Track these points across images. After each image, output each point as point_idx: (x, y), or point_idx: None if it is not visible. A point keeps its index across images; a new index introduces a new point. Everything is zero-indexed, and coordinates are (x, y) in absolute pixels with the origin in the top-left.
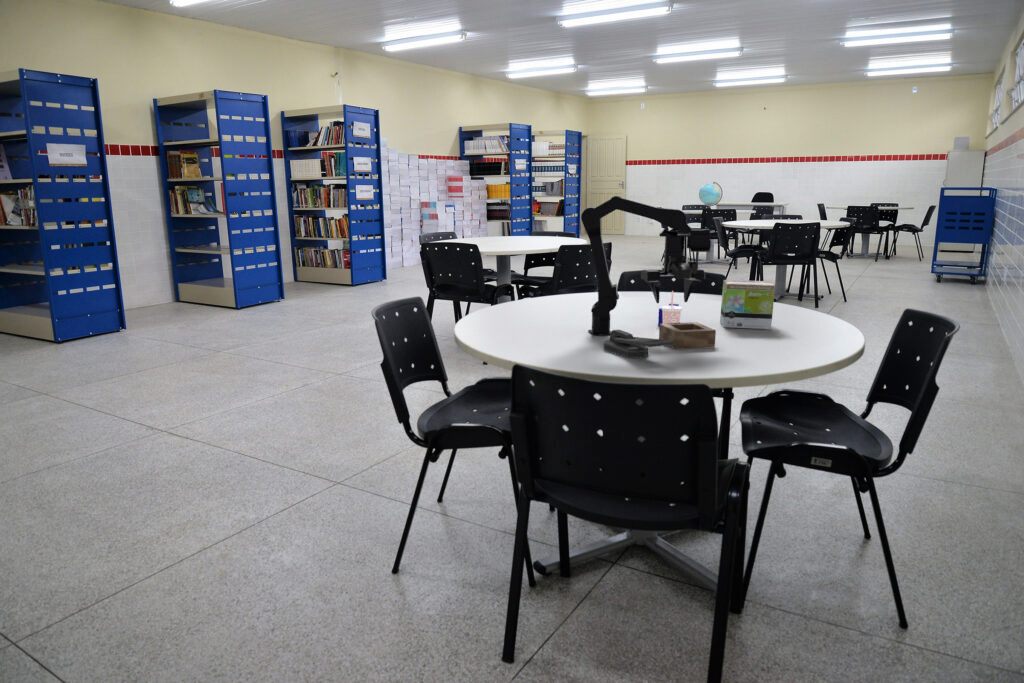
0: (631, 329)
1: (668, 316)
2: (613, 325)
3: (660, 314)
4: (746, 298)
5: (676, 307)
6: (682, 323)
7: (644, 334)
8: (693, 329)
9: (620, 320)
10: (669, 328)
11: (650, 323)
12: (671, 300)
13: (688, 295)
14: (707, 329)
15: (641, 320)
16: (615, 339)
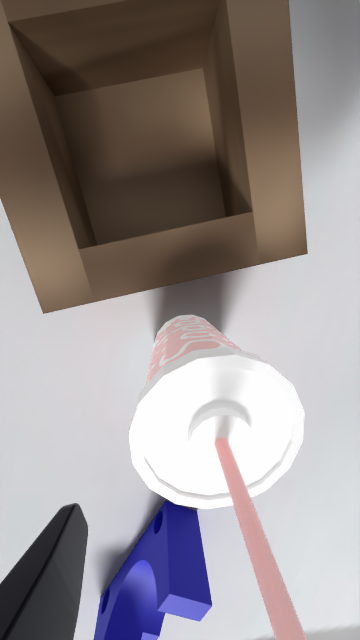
0: (313, 450)
1: (239, 348)
2: (356, 506)
3: (198, 566)
4: None
5: (176, 442)
6: (152, 265)
7: (290, 367)
8: (85, 241)
9: (307, 578)
10: (291, 71)
11: (215, 547)
12: (248, 493)
13: (3, 602)
14: None
15: (235, 586)
16: None
